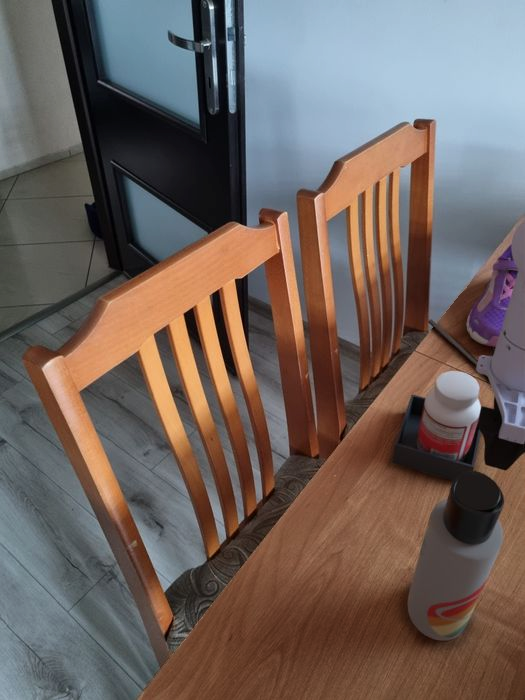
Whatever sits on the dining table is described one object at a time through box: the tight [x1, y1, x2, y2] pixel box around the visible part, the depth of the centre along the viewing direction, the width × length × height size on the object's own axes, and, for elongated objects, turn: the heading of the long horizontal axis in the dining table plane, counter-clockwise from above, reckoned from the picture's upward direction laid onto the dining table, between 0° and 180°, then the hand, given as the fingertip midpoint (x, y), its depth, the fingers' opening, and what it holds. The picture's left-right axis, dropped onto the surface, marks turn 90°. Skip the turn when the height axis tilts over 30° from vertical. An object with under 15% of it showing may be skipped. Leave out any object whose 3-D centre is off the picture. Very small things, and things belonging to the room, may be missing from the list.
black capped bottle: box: [407, 470, 505, 642], centre depth 47 cm, size 6×6×20 cm
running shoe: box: [466, 243, 519, 348], centre depth 86 cm, size 10×23×10 cm, turn 155°
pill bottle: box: [417, 370, 482, 462], centre depth 65 cm, size 6×6×11 cm
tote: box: [391, 394, 482, 482], centre depth 68 cm, size 9×9×3 cm
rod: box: [427, 318, 478, 368], centre depth 81 cm, size 1×19×1 cm
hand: (500, 437), depth 57 cm, fingers open, 7 cm apart
